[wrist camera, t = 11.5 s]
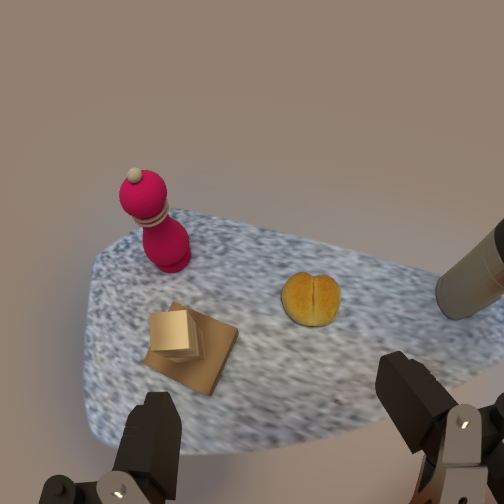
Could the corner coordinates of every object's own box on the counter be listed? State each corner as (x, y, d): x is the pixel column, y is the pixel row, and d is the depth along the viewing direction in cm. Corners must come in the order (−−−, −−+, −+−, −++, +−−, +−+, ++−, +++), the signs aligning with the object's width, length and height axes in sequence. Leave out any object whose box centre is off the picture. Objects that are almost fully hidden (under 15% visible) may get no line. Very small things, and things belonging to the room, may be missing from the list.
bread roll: (284, 273, 44) (286, 261, 40) (338, 281, 43) (345, 270, 40) (276, 323, 40) (279, 316, 36) (335, 331, 39) (343, 324, 36)
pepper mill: (202, 256, 45) (175, 166, 28) (168, 284, 43) (118, 205, 25) (177, 230, 48) (144, 141, 30) (145, 255, 45) (95, 174, 28)
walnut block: (238, 333, 39) (237, 328, 36) (211, 395, 34) (208, 395, 32) (178, 307, 41) (173, 301, 38) (150, 365, 36) (142, 363, 34)
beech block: (202, 331, 36) (186, 309, 27) (205, 360, 34) (189, 348, 25) (174, 334, 36) (149, 313, 27) (176, 362, 34) (150, 350, 25)
